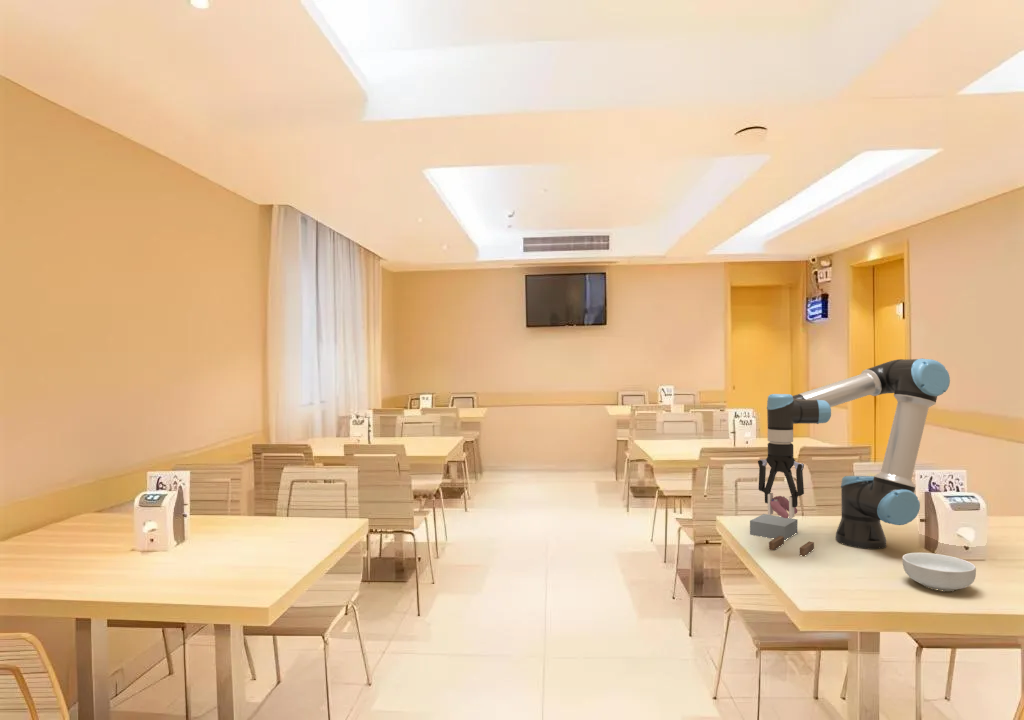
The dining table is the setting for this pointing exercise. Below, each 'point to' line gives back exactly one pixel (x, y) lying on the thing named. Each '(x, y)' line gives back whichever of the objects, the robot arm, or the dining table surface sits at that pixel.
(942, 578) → the cereal bowl
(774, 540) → the walnut guide rails
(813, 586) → the dining table surface
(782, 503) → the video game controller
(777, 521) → the charcoal stand
